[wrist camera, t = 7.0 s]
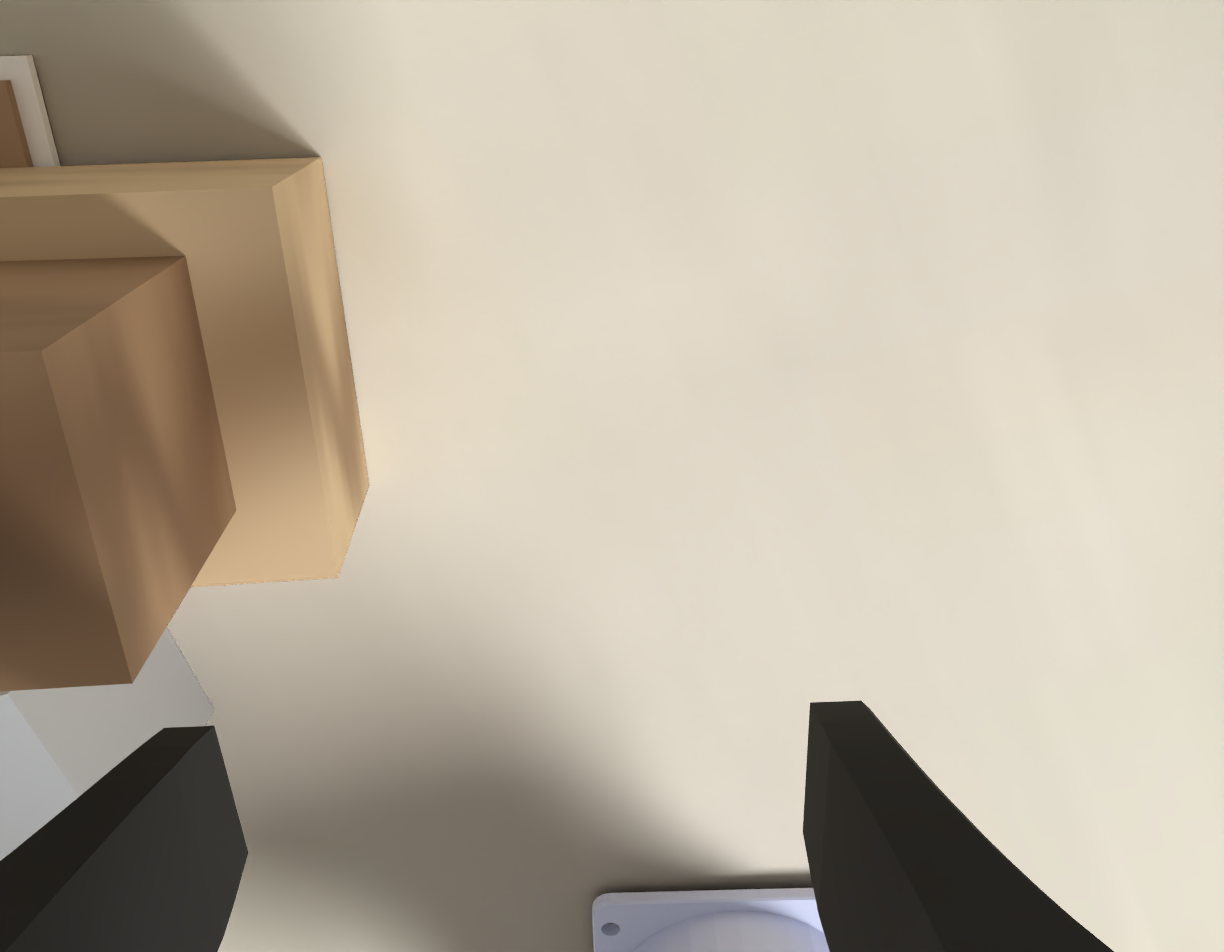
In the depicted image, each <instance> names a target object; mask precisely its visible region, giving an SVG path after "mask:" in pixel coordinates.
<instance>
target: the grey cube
mask: <svg viewBox="0 0 1224 952" xmlns="http://www.w3.org/2000/svg"><path fill="white" fill-rule="evenodd" d="M213 711H214V707H213V706H212V704H211V702H210V701H209V699H208V697H207V695H206V694H205V692H204V690H203V688H202V687H201V685H200V683H199V682H198V680H197V678H196V676H195V675H194V673H193V671H192V669H191V668H190V666H189V664H188V663H187V661H186V659H185V657H184V656H183V654H182V652H181V650H180V649H179V647H178V645H177V644H176V642H175V640H174V638H173V637H172V635H171V633H170V631H169V630H168V628H167V627H166V629H165V630H164V632H163V634H162V635H161V637H160V639H159V640H158V642H157V644H156V645H155V647H154V649H153V650H152V652H151V654H150V655H149V657H148V659H147V660H146V662H145V664H144V665H143V667H142V669H141V670H140V672H139V674H138V675H137V677H136V679H135V680H134V682H133V684H116V685H100V686H83V687H67V688H51V689H34V690H18V691H1V692H0V861H1V860H2V859H3V858H5V857H6V856H7V855H8V854H10V853H11V852H12V851H13V850H15V849H16V848H17V847H18V846H20V845H21V844H22V843H23V842H24V841H26V840H27V839H28V838H29V837H31V836H32V835H33V834H34V833H35V832H37V831H38V830H39V829H40V828H42V827H43V826H44V825H45V824H46V823H48V822H49V821H50V820H51V819H53V818H54V817H55V816H56V815H57V814H59V813H60V812H61V811H62V810H64V809H65V808H66V807H67V806H68V805H70V804H71V803H72V802H73V801H75V800H76V799H77V798H78V797H79V796H81V795H82V794H83V793H84V792H85V791H87V790H88V789H89V788H90V787H91V786H92V785H94V784H95V783H96V782H97V781H98V780H100V779H101V778H102V777H103V776H104V775H106V774H107V773H108V772H109V771H110V770H112V769H113V768H114V767H115V766H117V765H118V764H119V763H120V762H121V761H123V760H124V759H125V758H126V757H127V756H129V755H130V754H131V753H132V752H134V751H135V750H136V749H137V748H138V747H140V746H141V745H142V744H144V743H145V742H146V741H147V740H149V739H150V738H151V737H153V736H154V735H155V734H157V733H158V732H159V731H161V730H162V729H163V728H169V727H195V726H205V725H206V723H207V721H208V719H209V718H210V716H211V714H212V712H213Z"/></svg>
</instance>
